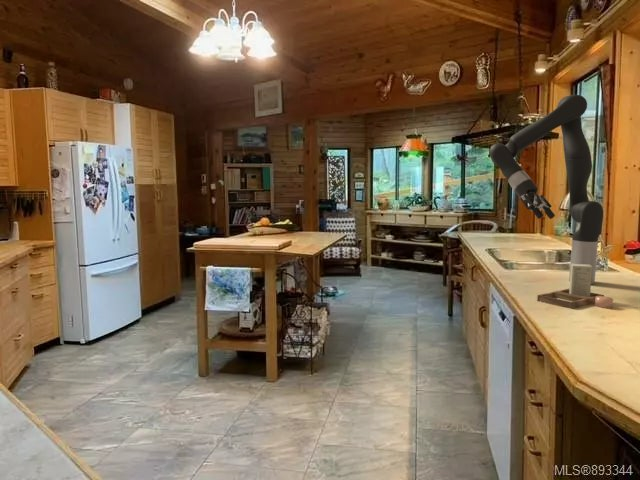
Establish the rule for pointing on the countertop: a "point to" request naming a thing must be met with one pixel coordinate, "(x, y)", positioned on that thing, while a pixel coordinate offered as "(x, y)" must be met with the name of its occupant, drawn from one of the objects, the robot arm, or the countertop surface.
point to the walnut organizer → (567, 299)
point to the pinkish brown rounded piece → (603, 302)
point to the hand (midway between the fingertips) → (547, 217)
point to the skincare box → (580, 279)
